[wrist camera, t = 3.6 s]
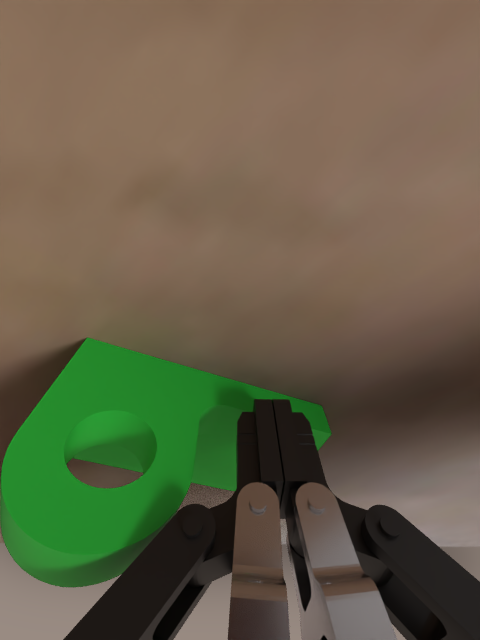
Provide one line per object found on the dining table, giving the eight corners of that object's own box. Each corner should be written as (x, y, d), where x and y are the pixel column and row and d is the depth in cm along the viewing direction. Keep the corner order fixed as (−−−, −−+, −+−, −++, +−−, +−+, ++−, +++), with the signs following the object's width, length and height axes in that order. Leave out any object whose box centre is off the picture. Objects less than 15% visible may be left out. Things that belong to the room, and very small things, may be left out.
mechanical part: (73, 421, 16) (-44, 626, 9) (89, 335, 13) (-61, 535, 7) (273, 467, 19) (297, 655, 12) (320, 402, 16) (389, 598, 9)
